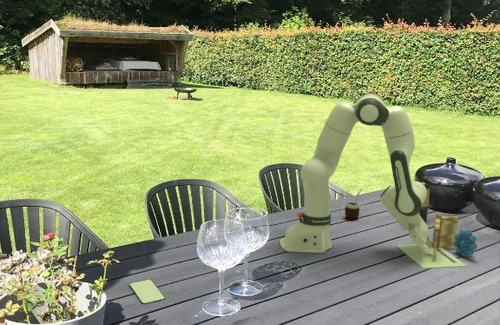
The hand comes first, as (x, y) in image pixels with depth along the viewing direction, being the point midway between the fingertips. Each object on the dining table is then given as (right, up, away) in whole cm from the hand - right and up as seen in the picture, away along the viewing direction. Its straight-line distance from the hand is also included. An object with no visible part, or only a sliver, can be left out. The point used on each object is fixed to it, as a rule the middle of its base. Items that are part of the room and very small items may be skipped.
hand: (431, 246), depth 210 cm
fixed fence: (+8, -2, +9) cm, 13 cm away
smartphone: (-110, -10, -35) cm, 116 cm away
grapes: (+14, -4, +1) cm, 15 cm away
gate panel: (+1, -3, +1) cm, 3 cm away
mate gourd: (-24, +6, +46) cm, 52 cm away
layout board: (0, -4, +1) cm, 4 cm away
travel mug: (+9, +5, +44) cm, 45 cm away
